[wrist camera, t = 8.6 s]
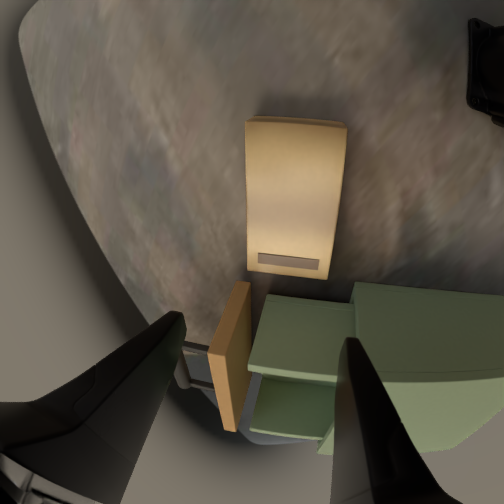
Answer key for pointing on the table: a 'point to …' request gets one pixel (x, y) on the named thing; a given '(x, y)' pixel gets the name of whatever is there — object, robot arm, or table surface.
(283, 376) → the drawer
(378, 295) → the cabinet
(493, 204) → the table surface
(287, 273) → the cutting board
